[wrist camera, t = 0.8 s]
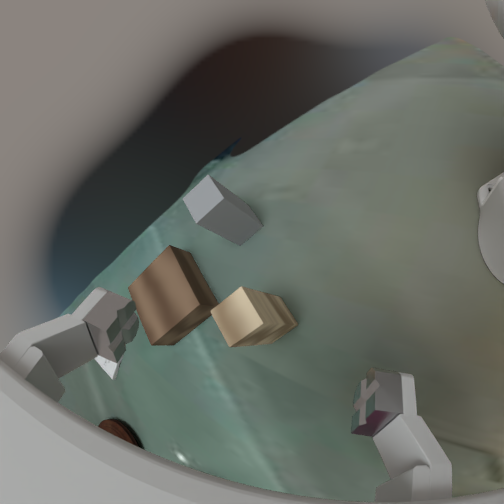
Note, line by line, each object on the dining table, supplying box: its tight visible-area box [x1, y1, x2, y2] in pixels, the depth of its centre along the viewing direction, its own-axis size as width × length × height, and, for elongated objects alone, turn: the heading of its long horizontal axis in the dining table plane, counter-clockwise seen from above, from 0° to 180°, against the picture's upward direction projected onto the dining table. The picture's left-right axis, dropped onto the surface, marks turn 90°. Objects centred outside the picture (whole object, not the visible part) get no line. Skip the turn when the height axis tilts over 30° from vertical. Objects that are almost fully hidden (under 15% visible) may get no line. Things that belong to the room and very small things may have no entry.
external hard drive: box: [94, 354, 124, 380], centre depth 60 cm, size 2×8×12 cm
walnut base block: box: [128, 245, 219, 345], centre depth 51 cm, size 12×12×6 cm
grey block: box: [183, 175, 263, 246], centre depth 45 cm, size 5×5×12 cm
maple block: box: [210, 286, 298, 347], centre depth 39 cm, size 5×5×12 cm
